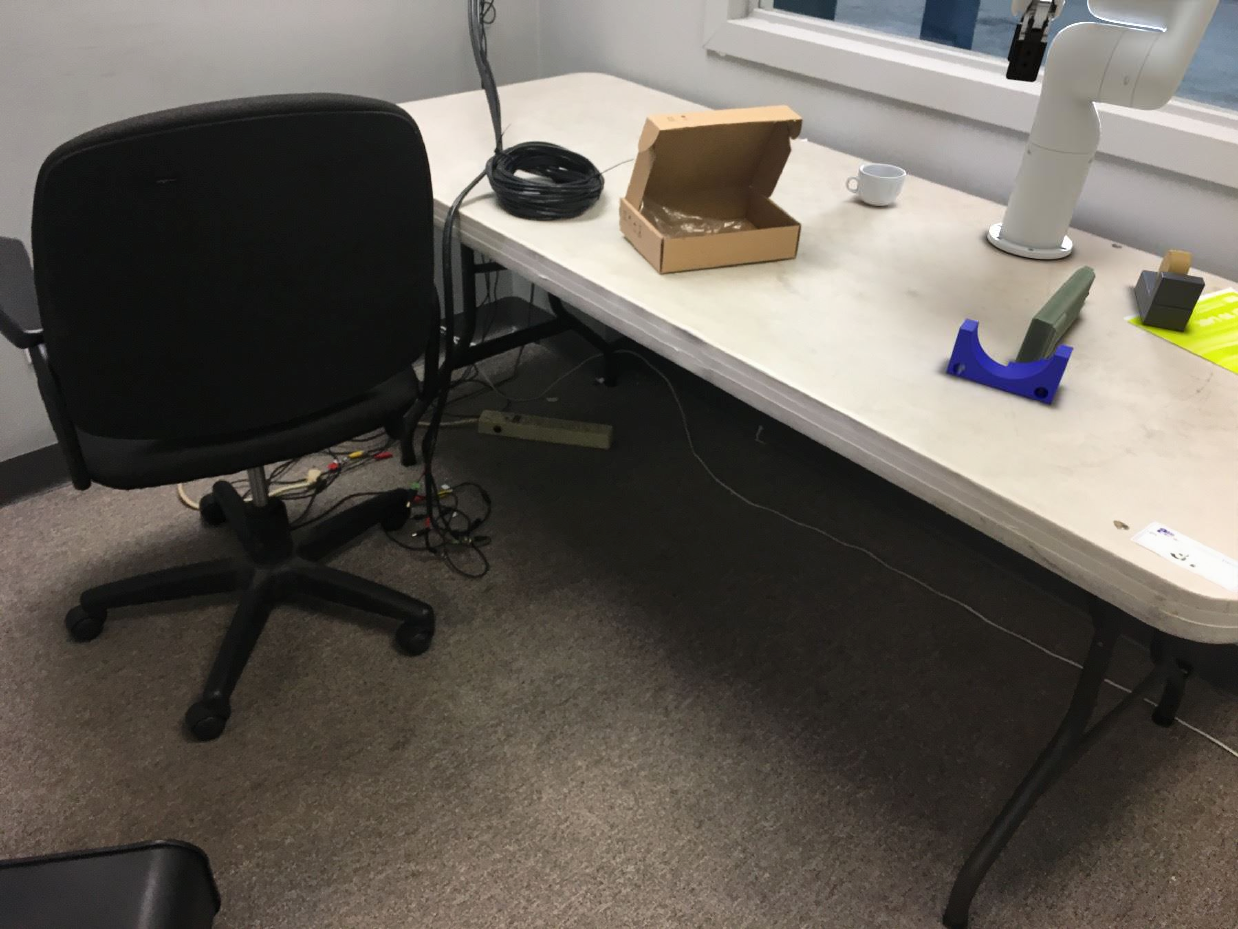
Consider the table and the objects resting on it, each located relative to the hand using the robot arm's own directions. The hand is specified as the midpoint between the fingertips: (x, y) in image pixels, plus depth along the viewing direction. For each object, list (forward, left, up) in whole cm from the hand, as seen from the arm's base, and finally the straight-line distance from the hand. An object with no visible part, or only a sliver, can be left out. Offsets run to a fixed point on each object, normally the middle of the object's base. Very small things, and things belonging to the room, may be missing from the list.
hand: (1020, 70), depth 99 cm
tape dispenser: (-13, +27, -30) cm, 43 cm away
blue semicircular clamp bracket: (+17, +7, -31) cm, 35 cm away
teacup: (-38, -16, -31) cm, 51 cm away
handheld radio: (+1, +13, -31) cm, 33 cm away
